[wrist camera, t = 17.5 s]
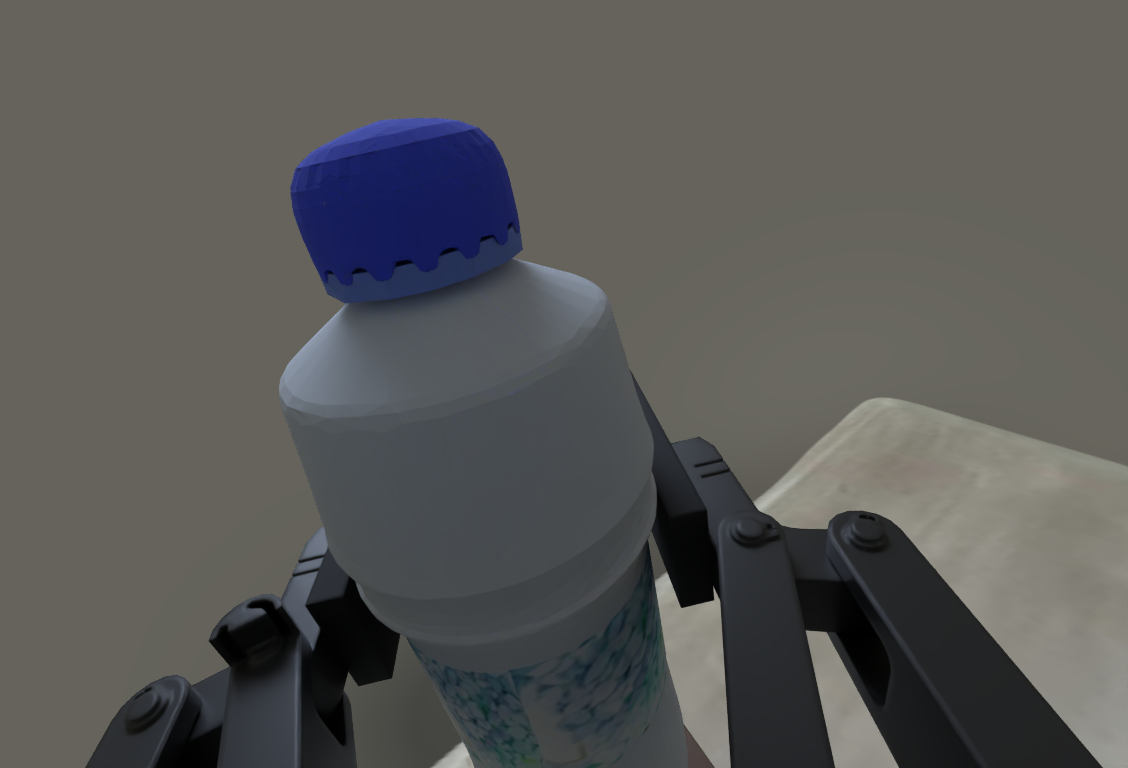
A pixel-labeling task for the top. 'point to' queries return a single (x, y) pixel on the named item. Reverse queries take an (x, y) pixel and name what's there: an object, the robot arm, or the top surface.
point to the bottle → (481, 453)
